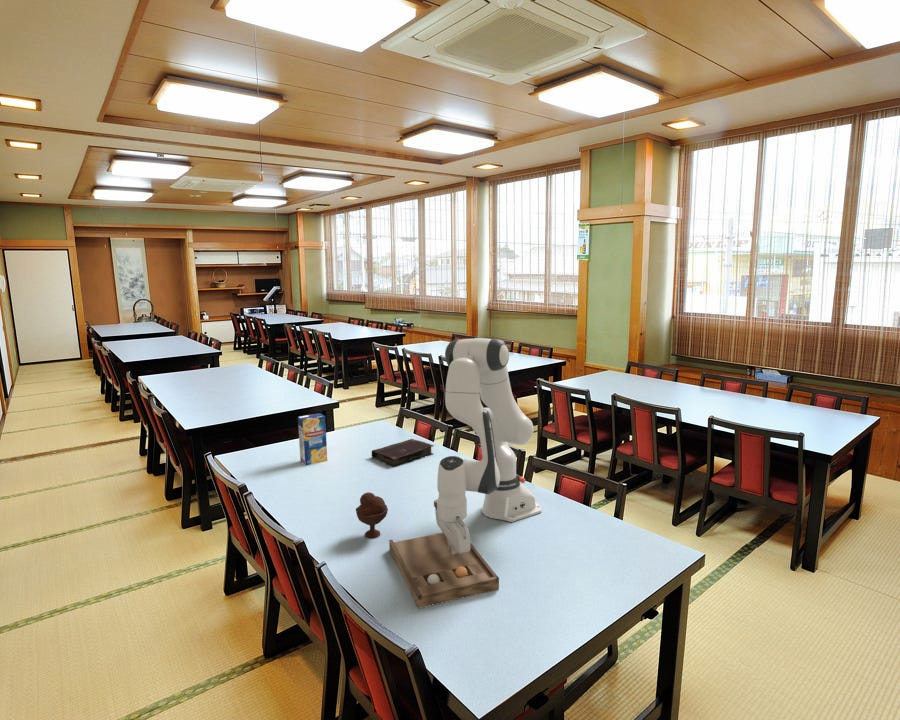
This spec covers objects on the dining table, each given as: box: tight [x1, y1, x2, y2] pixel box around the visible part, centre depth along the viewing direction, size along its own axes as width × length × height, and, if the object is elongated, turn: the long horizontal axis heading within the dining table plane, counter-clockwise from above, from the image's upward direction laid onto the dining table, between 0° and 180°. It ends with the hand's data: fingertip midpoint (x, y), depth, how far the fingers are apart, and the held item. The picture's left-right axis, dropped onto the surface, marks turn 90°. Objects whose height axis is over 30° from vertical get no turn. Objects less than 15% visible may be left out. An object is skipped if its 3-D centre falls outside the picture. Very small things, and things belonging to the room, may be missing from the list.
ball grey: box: [427, 574, 440, 585], centre depth 152 cm, size 4×4×4 cm
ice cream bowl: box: [355, 492, 389, 540], centre depth 180 cm, size 11×11×15 cm
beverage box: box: [297, 412, 328, 466], centre depth 250 cm, size 7×11×22 cm, turn 125°
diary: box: [371, 438, 435, 468], centre depth 257 cm, size 19×25×5 cm
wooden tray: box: [388, 532, 500, 609], centre depth 161 cm, size 24×32×4 cm
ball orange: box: [455, 567, 468, 578], centre depth 155 cm, size 4×4×4 cm
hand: (452, 551), depth 163 cm, fingers closed
